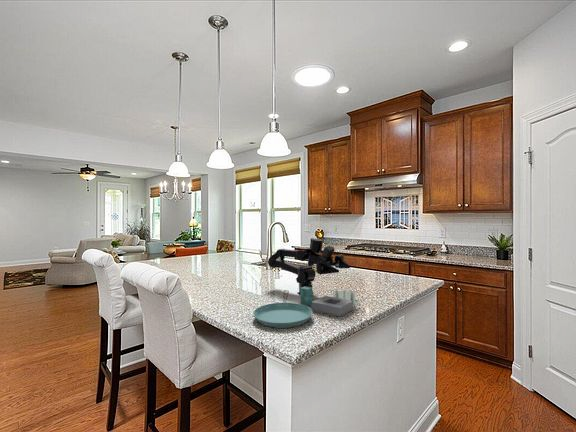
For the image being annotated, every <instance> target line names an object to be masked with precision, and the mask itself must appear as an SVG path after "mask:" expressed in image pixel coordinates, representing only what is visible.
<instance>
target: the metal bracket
mask: <svg viewBox="0 0 576 432" xmlns="http://www.w3.org/2000/svg"><path fill="white" fill-rule="evenodd" d="M331 297H335V298H340V299H346V300H351V301H353V306H355V305H356V306H361V302H360V301H357V300H356V291H354V290H352V289H350V290H332V295H331ZM356 306H355V307H356Z"/></svg>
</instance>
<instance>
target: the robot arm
mask: <svg viewBox="0 0 576 432" xmlns="http://www.w3.org/2000/svg"><path fill="white" fill-rule="evenodd" d="M323 244H324V240H323V239H321V238H310V245H309V248H305V249H300V250H297V249H296V250H295V249H286V248H278V249H277V250H276V251H275V253H273V254H272V255H271V256H270V257H268V260H267V265H268V267H269V268H274V269H282V270H284V271H287V272H290V273H292V274H295V275H297V276H296V279H295V280H296V283H298V290H299V291H298V292H297V294H298V295H301V291H300V288H302V287H305V286H306V287H312V288H313V282H314V281H315V279H316V275H319V276H320V275H328V274H336V273H340V269H351V265H349V263H347V262H346V261H345V260H344V259H345V258H344V257H345V256H344V254H338V255H336V256H333V254H334V252H335V249H336V248H334V246H331V245H327V246H325V247H323ZM320 253H321V254H320ZM285 257H286V258H287V257H288V258H295V259H296V260H298V261H300V262H305V261H307V265H306V264H305V265H301V266H298V265H296V264H294V263H290V262H288V261H285ZM333 257H334V260H333ZM314 265H316V271H315V269H314V268H313V266H314ZM313 293H314V291H312V294H313Z"/></svg>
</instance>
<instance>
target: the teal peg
mask: <svg viewBox="0 0 576 432" xmlns="http://www.w3.org/2000/svg"><path fill="white" fill-rule="evenodd" d="M300 291H301V294H300V304H302V305H305V306H307V307H310V306H312V301H313V293H312V292H313V286H312V287H306V286H305V287H302V288H300Z"/></svg>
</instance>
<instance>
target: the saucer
mask: <svg viewBox="0 0 576 432" xmlns="http://www.w3.org/2000/svg"><path fill="white" fill-rule="evenodd" d="M313 312H314V311H312V308H311V307H310V306H308V307H307V306H305V305H302V304H301V303H296V302H295V303H294V302H275V303H268V304H264V305H261V306H259V307H257V308H255V309H254V310H253V317H254V318H255V319H256V320H257V322H259V323H260V324H261V325H264V326H266V327H270V328H276V329H287V328H288V329H289V328H295V327H298V326H302V325H304V324H305V323H306V322H308V321H309V320H310V319H311V317H312V315H313Z"/></svg>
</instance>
